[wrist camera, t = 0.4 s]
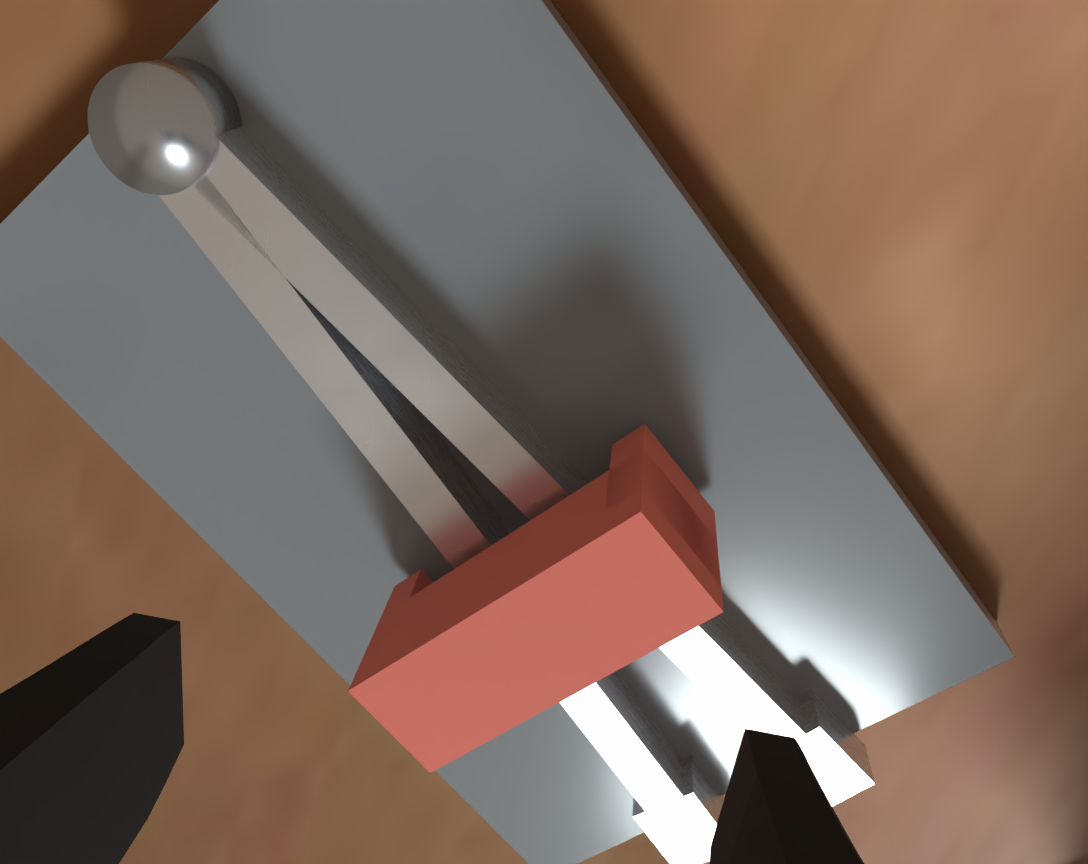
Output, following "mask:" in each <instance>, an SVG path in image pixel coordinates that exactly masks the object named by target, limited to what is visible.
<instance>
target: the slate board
mask: <svg viewBox="0 0 1088 864" xmlns="http://www.w3.org/2000/svg"><path fill="white" fill-rule="evenodd" d="M169 57H182V58H187V59H191V60H194V61H197V62H199V63H201V64H203V65H205V66H206V67H208V68H210V69H211V70H212V71H214V72H215V73H216V74H217V75H218V76H219V77H220V78H221V79H222V80H223V81H224V82H225V83H226V85H227V86H228V87H229V89H230V90H231V92H232V94H233V95H234V97H235V99H236V102H237V104H238V107H239V110H240V114H241V119H242V126H243V127H244V128H245V130H246V131H247V132H248V133H249V134H250V135H251V136H252V137H253V138H254V139H255V140H256V141H257V142H258V143H259V144H260V145H261V146H262V147H263V148H264V149H265V150H266V151H267V152H268V153H269V154H270V155H271V156H272V157H273V158H274V159H275V160H276V161H277V162H278V163H279V164H280V165H281V166H282V167H283V169H284V170H285V171H286V172H287V173H288V174H289V175H290V176H291V177H292V178H293V179H294V180H295V181H296V182H297V183H298V184H299V185H300V186H301V187H302V188H303V189H304V190H305V191H306V192H307V193H308V194H309V195H310V196H311V197H312V198H313V199H314V200H315V201H316V202H317V203H318V204H319V205H320V206H321V207H322V209H323V210H324V211H325V212H326V213H327V214H328V215H329V216H330V217H331V218H332V219H333V220H334V221H335V222H336V223H337V224H338V225H339V226H340V227H341V228H342V229H343V230H344V231H345V232H346V233H347V234H348V235H349V236H350V237H351V238H352V239H353V240H354V241H355V242H356V243H357V244H358V245H359V246H360V248H361V249H362V250H363V251H364V252H365V253H366V254H367V255H368V256H369V257H370V258H371V259H372V260H373V261H374V262H375V263H376V264H377V265H378V266H379V267H380V268H381V269H382V270H383V271H384V272H385V273H386V274H387V275H388V276H389V277H390V278H391V279H392V280H393V281H394V282H395V283H396V284H397V285H398V287H399V288H400V289H401V290H402V291H403V292H404V293H405V294H406V295H407V296H408V297H409V298H410V299H411V300H412V301H413V302H414V303H415V304H416V305H417V306H418V307H419V308H420V309H421V310H422V311H423V312H424V313H425V314H426V315H427V316H428V317H429V318H430V319H431V320H432V321H433V322H434V323H435V324H436V326H437V327H438V328H439V329H440V330H441V331H442V332H443V333H444V334H445V335H446V336H447V337H448V338H449V339H450V340H451V341H452V342H453V343H454V344H455V345H456V346H457V347H458V348H459V349H460V350H461V351H462V352H463V353H464V354H465V355H466V356H467V357H468V358H469V359H470V360H471V361H472V362H473V363H474V365H475V366H476V367H477V368H478V369H479V370H480V371H481V372H482V373H483V374H484V375H485V376H486V377H487V378H488V379H489V380H490V381H491V382H492V383H493V384H494V385H495V386H496V387H497V388H498V389H499V390H500V391H501V392H502V393H503V394H504V395H505V396H506V397H507V398H508V399H509V400H510V401H511V402H512V403H513V405H514V406H515V407H516V408H517V409H518V410H519V411H520V412H521V413H522V414H523V415H524V416H525V417H526V418H527V419H528V420H529V421H530V422H531V423H532V424H533V425H534V426H535V427H536V428H537V429H538V430H539V431H540V432H541V433H542V434H543V435H544V436H545V437H546V438H547V439H548V440H549V441H550V442H551V444H552V445H553V446H554V447H555V448H556V449H557V450H558V451H559V452H560V453H561V454H562V455H563V456H564V457H565V458H566V459H567V460H568V461H569V462H570V463H571V464H572V465H573V466H574V467H575V468H576V469H577V470H578V471H579V472H580V473H581V474H582V475H583V476H584V477H585V478H586V479H587V480H588V481H589V483H590V482H591V481H593V480H595V479H596V478H598V477H599V476H601V475H602V474H604V473H606V472H607V471H609V470H610V461H611V452H612V445H613V444H614V443H616V442H618V441H619V440H621V439H622V438H624V437H625V436H627V435H628V434H630V433H631V432H633V431H634V430H636V429H638V428H639V427H641V426H642V425H644V424H646V426H647V427H648V428H649V429H650V431H651V432H652V433H653V435H654V436H655V437H656V438H657V440H658V441H659V442H660V443H661V445H662V446H663V447H664V448H665V450H666V451H667V452H668V453H669V455H670V456H671V457H672V458H673V460H674V461H675V462H676V463H677V465H678V466H679V467H680V468H681V470H682V471H683V472H684V473H685V475H686V476H687V477H688V479H689V480H690V481H691V482H692V484H693V485H694V486H695V487H696V489H697V490H698V491H699V492H700V494H701V495H702V496H703V497H704V499H705V500H706V501H707V502H708V504H709V505H710V506H711V507H712V509H713V510H714V512H715V523H716V534H717V545H718V556H719V567H720V578H721V589H722V600H723V611H724V612H723V613H721V614H719V616H720V617H721V618H722V619H723V620H724V621H725V622H726V623H727V624H728V625H729V626H730V627H731V628H732V629H733V630H734V631H735V632H736V633H737V634H738V635H739V636H740V637H741V638H742V640H743V641H744V642H745V643H746V644H747V645H748V646H749V647H750V648H751V649H752V650H753V651H754V652H755V653H756V654H757V655H758V656H759V657H760V658H761V659H762V660H763V661H764V662H765V663H766V664H767V665H768V666H769V667H770V668H771V669H772V670H773V671H774V672H775V673H776V674H777V675H778V676H779V677H780V679H781V680H782V681H783V682H784V683H785V684H786V685H787V686H788V687H789V688H790V689H791V690H792V691H793V692H794V693H795V694H796V695H797V696H798V697H801V696H802V695H804V694H806V693H807V692H809V691H811V690H812V691H813V692H814V693H815V694H816V695H817V696H818V697H819V698H820V699H821V700H822V701H823V702H824V703H825V704H826V705H827V706H828V707H829V708H830V709H831V710H832V711H833V712H834V713H835V714H836V715H837V716H838V717H839V719H840V720H841V721H842V722H843V723H844V724H845V725H846V726H847V727H848V728H849V729H850V730H851V731H852V732H853V733H855V732H857V731H859V730H861V729H863V728H865V727H867V726H869V725H872V724H874V723H876V722H878V721H880V720H882V719H884V718H886V717H889V716H891V715H893V714H895V713H897V712H899V711H901V710H903V709H905V708H908V707H910V706H912V705H914V704H916V703H918V702H920V701H922V700H924V699H927V698H929V697H931V696H933V695H935V694H937V693H939V692H941V691H943V690H946V689H948V688H950V687H952V686H954V685H956V684H958V683H960V682H963V681H965V680H967V679H969V678H971V677H973V676H975V675H977V674H979V673H982V672H984V671H986V670H988V669H990V668H992V667H994V666H996V665H998V664H1001V663H1003V662H1005V661H1007V660H1009V659H1011V658H1013V657H1015V656H1014V654H1013V653H1012V651H1011V649H1010V647H1009V645H1008V643H1007V641H1006V639H1005V637H1004V635H1003V633H1002V631H1001V629H1000V627H999V625H998V623H997V622H996V621H995V619H994V618H993V616H992V615H991V614H990V612H989V611H988V609H987V608H986V607H985V605H984V604H983V602H982V601H981V600H980V598H979V597H978V595H977V594H976V593H975V591H974V590H973V589H972V587H971V586H970V584H969V583H968V582H967V580H966V579H965V577H964V576H963V575H962V573H961V572H960V570H959V569H958V568H957V566H956V565H955V563H954V562H953V561H952V559H951V558H950V556H949V555H948V554H947V552H946V551H945V550H944V548H943V547H942V545H941V544H940V543H939V541H938V540H937V538H936V537H935V536H934V534H933V533H932V531H931V530H930V529H929V527H928V526H927V524H926V523H925V522H924V520H923V519H922V517H921V516H920V515H919V513H918V512H917V511H916V509H915V508H914V506H913V505H912V504H911V502H910V501H909V499H908V498H907V497H906V495H905V494H904V492H903V491H902V490H901V488H900V487H899V485H898V484H897V483H896V481H895V480H894V478H893V477H892V476H891V474H890V473H889V472H888V470H887V469H886V467H885V466H884V465H883V463H882V462H881V460H880V459H879V458H878V456H877V455H876V453H875V452H874V451H873V449H872V448H871V446H870V445H869V444H868V442H867V441H866V439H865V438H864V437H863V435H862V434H861V432H860V431H859V430H858V428H857V427H856V426H855V424H854V423H853V421H852V420H851V419H850V417H849V416H848V414H847V413H846V412H845V410H844V409H843V407H842V406H841V405H840V403H839V402H838V400H837V399H836V398H835V396H834V395H833V393H832V392H831V391H830V389H829V388H828V387H827V385H826V384H825V382H824V381H823V380H822V378H821V377H820V375H819V374H818V373H817V371H816V370H815V368H814V367H813V366H812V364H811V363H810V361H809V360H808V359H807V357H806V356H805V354H804V353H803V352H802V350H801V349H800V348H799V346H798V345H797V343H796V342H795V341H794V339H793V338H792V336H791V335H790V334H789V332H788V331H787V329H786V328H785V327H784V325H783V324H782V322H781V321H780V320H779V318H778V317H777V315H776V314H775V313H774V311H773V310H772V309H771V307H770V306H769V304H768V303H767V302H766V300H765V299H764V297H763V296H762V295H761V293H760V292H759V290H758V289H757V288H756V286H755V285H754V283H753V282H752V281H751V279H750V278H749V276H748V275H747V274H746V272H745V271H744V269H743V268H742V267H741V265H740V264H739V263H738V261H737V260H736V258H735V257H734V256H733V254H732V253H731V251H730V250H729V249H728V247H727V246H726V244H725V243H724V242H723V240H722V239H721V237H720V236H719V235H718V233H717V232H716V230H715V229H714V228H713V226H712V225H711V224H710V222H709V221H708V219H707V218H706V217H705V215H704V214H703V212H702V211H701V210H700V208H699V207H698V205H697V204H696V203H695V201H694V200H693V198H692V197H691V196H690V194H689V193H688V191H687V190H686V189H685V187H684V186H683V185H682V183H681V182H680V180H679V179H678V178H677V176H676V175H675V173H674V172H673V171H672V169H671V168H670V166H669V165H668V164H667V162H666V161H665V159H664V158H663V157H662V155H661V154H660V152H659V151H658V150H657V148H656V147H655V146H654V144H653V143H652V141H651V140H650V139H649V137H648V136H647V134H646V133H645V132H644V130H643V129H642V127H641V126H640V125H639V123H638V122H637V120H636V119H635V118H634V116H633V115H632V113H631V112H630V111H629V109H628V108H627V107H626V105H625V104H624V102H623V101H622V100H621V98H620V97H619V95H618V94H617V93H616V91H615V90H614V88H613V87H612V86H611V84H610V83H609V81H608V80H607V79H606V77H605V76H604V74H603V73H602V72H601V70H600V69H599V67H598V66H597V65H596V63H595V62H594V61H593V59H592V58H591V56H590V55H589V54H588V52H587V51H586V49H585V48H584V47H583V45H582V44H581V42H580V41H579V40H578V38H577V37H576V35H575V34H574V33H573V31H572V30H571V28H570V27H569V26H568V24H567V23H566V22H565V20H564V19H563V17H562V16H561V15H560V13H559V12H558V10H557V9H556V8H555V6H554V5H553V3H552V2H551V1H550V0H219V1H218V2H217V3H216V4H215V5H214V6H213V7H212V8H211V9H210V10H209V11H208V12H207V13H206V14H205V15H204V16H203V17H202V18H201V19H200V20H199V21H198V22H197V23H196V24H195V25H194V26H193V28H192V29H191V30H190V31H189V32H188V33H187V34H186V35H185V36H184V37H183V38H182V39H181V40H180V41H179V42H178V43H177V44H176V45H175V46H174V47H173V48H172V49H171V50H170V51H169V52H168V53H167V54H166V55H165V56H164V57H163V58H169ZM0 337H1V338H2V339H3V340H4V341H5V342H6V343H7V344H8V345H9V346H10V347H11V348H12V349H13V350H14V351H15V352H16V353H17V354H18V355H19V356H20V357H21V358H22V359H23V360H24V361H25V362H26V363H27V364H28V365H29V366H30V367H31V368H32V369H33V370H34V371H35V372H36V373H37V374H38V375H39V376H40V377H41V378H42V379H43V380H44V381H45V382H46V383H47V384H48V385H49V386H50V387H51V388H52V389H53V390H54V391H55V392H56V393H57V394H58V395H59V396H60V397H61V398H62V399H63V400H64V401H65V402H66V403H67V404H68V405H69V406H70V407H71V408H72V409H73V410H74V411H75V412H76V413H77V414H78V415H79V416H80V417H81V418H82V419H83V420H84V421H85V422H86V423H87V424H88V425H89V426H90V427H91V428H92V429H93V430H94V431H95V432H96V433H97V434H98V435H99V436H100V437H101V438H102V439H103V440H104V441H105V442H106V443H107V444H108V445H109V446H110V447H111V448H112V449H113V450H114V451H115V452H116V453H117V454H118V455H119V456H120V457H121V458H122V459H123V460H124V461H125V462H126V463H127V464H128V465H129V466H130V467H131V468H132V469H133V470H134V471H135V472H136V473H137V474H138V475H139V476H141V477H142V478H143V479H144V480H145V481H146V482H147V483H148V484H149V485H150V486H151V487H152V488H153V489H154V490H155V491H156V492H157V493H158V494H159V495H160V496H161V497H162V498H163V499H164V500H165V501H166V502H167V503H168V504H169V505H170V506H171V507H172V508H173V509H174V510H175V511H176V512H177V513H178V514H179V515H180V516H181V517H182V518H183V519H184V520H185V521H186V522H187V523H188V524H189V525H190V526H191V527H192V528H193V529H194V530H195V531H196V532H197V533H198V534H199V535H200V536H201V537H202V538H203V539H204V540H205V541H206V542H207V543H208V544H209V545H210V546H211V547H212V548H213V549H214V550H215V551H216V552H217V553H218V554H219V555H220V556H221V557H222V558H223V559H224V560H225V561H226V562H227V563H228V564H229V565H230V566H231V567H232V568H233V569H234V570H235V571H236V572H237V573H238V574H239V575H240V576H241V577H242V578H243V579H244V580H245V581H246V582H247V583H248V584H249V585H250V586H251V587H252V588H253V589H254V590H255V591H256V592H257V593H258V594H259V595H260V596H261V597H262V598H263V599H264V600H265V601H266V602H267V603H268V604H269V605H270V606H271V607H272V608H273V609H274V610H275V611H276V612H277V613H278V614H279V615H280V616H281V617H282V618H283V619H284V620H285V621H286V622H287V623H288V624H289V625H290V626H291V627H292V628H293V629H294V630H295V631H296V632H297V633H298V634H299V635H300V636H301V637H302V638H303V639H304V640H305V641H306V642H307V643H308V644H309V645H310V646H311V647H312V648H313V649H314V650H315V651H316V652H317V653H318V654H319V655H320V656H321V657H322V658H323V659H324V660H325V661H326V662H327V663H328V664H329V665H330V666H331V667H332V668H333V669H334V670H335V671H336V672H337V673H338V674H339V675H340V676H341V677H342V678H343V679H344V680H345V681H346V682H347V683H348V684H349V685H351V683H352V681H353V679H354V676H355V674H356V672H357V670H358V667H359V665H360V663H361V661H362V658H363V656H364V654H365V652H366V649H367V647H368V645H369V643H370V640H371V638H372V636H373V634H374V631H375V629H376V627H377V625H378V622H379V620H380V618H381V616H382V613H383V611H384V609H385V607H386V604H387V602H388V600H389V598H390V595H391V593H392V591H393V589H394V586H396V585H397V584H399V583H400V582H402V581H404V580H405V579H407V578H408V577H410V576H411V575H413V574H414V573H416V572H417V571H419V570H420V569H421V570H422V571H423V572H424V573H425V574H426V575H427V576H428V577H429V578H430V579H431V580H432V581H433V582H435V581H437V580H438V579H440V578H441V577H443V576H444V575H446V574H448V573H449V572H451V571H452V570H454V569H453V567H452V566H451V565H450V563H449V562H448V561H447V560H446V558H445V557H444V556H443V555H442V553H441V552H440V551H439V550H438V548H437V547H436V546H435V544H434V543H433V542H432V541H431V539H430V538H429V537H428V536H427V534H426V533H425V532H424V531H423V529H422V528H421V527H420V525H419V524H418V523H417V522H416V520H415V519H414V518H413V517H412V515H411V514H410V513H409V512H408V510H407V509H406V508H405V506H404V505H403V504H402V503H401V501H400V500H399V499H398V498H397V496H396V495H395V494H394V493H393V491H392V490H391V489H390V488H389V486H388V485H387V484H386V482H385V481H384V480H383V479H382V477H381V476H380V475H379V474H378V472H377V471H376V470H375V469H374V467H373V466H372V465H371V463H370V462H369V461H368V460H367V458H366V457H365V456H364V455H363V453H362V452H361V451H360V450H359V448H358V447H357V446H356V444H355V443H354V442H353V441H352V439H351V438H350V437H349V436H348V434H347V433H346V432H345V431H344V429H343V428H342V427H341V426H340V424H339V423H338V422H337V420H336V419H335V418H334V417H333V415H332V414H331V413H330V412H329V410H328V409H327V408H326V407H325V405H324V404H323V403H322V401H321V400H320V399H319V398H318V396H317V395H316V394H315V393H314V391H313V390H312V389H311V388H310V386H309V385H308V384H307V382H306V381H305V380H304V379H303V377H302V376H301V375H300V374H299V372H298V371H297V370H296V369H295V367H294V366H293V365H292V363H291V362H290V361H289V360H288V358H287V357H286V356H285V355H284V353H283V352H282V351H281V350H280V348H279V347H278V346H277V345H276V343H275V342H274V341H273V339H272V338H271V337H270V336H269V334H268V333H267V332H266V331H265V329H264V328H263V327H262V326H261V324H260V323H259V322H258V320H257V319H256V318H255V317H254V315H253V314H252V313H251V312H250V310H249V309H248V308H247V307H246V305H245V304H244V303H243V301H242V300H241V299H240V298H239V296H238V295H237V294H236V293H235V291H234V290H233V289H232V288H231V286H230V285H229V284H228V283H227V281H226V280H225V279H224V277H223V276H222V275H221V274H220V272H219V271H218V270H217V269H216V267H215V266H214V265H213V264H212V262H211V261H210V260H209V258H208V257H207V256H206V255H205V253H204V252H203V251H202V250H201V248H200V247H199V246H198V245H197V243H196V242H195V241H194V239H193V238H192V237H191V236H190V234H189V233H188V232H187V231H186V229H185V228H184V227H183V226H182V224H181V223H180V222H179V220H178V219H177V218H176V217H175V215H174V214H173V213H172V212H171V210H170V209H169V208H168V207H167V205H166V204H165V203H164V202H163V200H162V199H161V198H160V196H159V195H151V194H147V193H143V192H140V191H137V190H135V189H133V188H131V187H129V186H128V185H126V184H124V183H123V182H121V181H120V180H119V179H118V178H116V177H115V176H114V175H113V174H112V173H111V172H110V171H109V170H108V168H107V167H106V166H105V165H104V164H103V162H102V161H101V159H100V157H99V156H98V154H97V152H96V150H95V148H94V146H93V143H92V141H91V137H90V133H89V134H88V135H87V136H86V137H85V138H84V139H83V140H82V141H81V142H80V143H79V144H78V145H77V146H76V147H75V148H74V149H73V150H72V151H71V152H70V153H69V154H68V155H67V156H66V157H65V158H64V159H63V160H62V161H61V162H60V163H59V164H58V165H57V166H56V167H55V169H54V170H53V171H52V172H51V173H50V174H49V175H48V176H47V177H46V178H45V179H44V180H43V181H42V182H41V183H40V184H39V185H38V186H37V187H36V188H35V189H34V190H33V191H32V192H31V193H30V194H29V195H28V196H27V197H26V198H25V199H24V200H23V201H22V202H21V203H20V204H19V205H18V206H17V207H16V208H15V209H14V210H13V211H12V212H11V213H10V214H9V216H8V217H7V218H6V219H5V220H4V221H3V222H2V223H1V224H0ZM424 417H425V416H424ZM425 418H426V417H425ZM426 419H427V418H426ZM427 421H428V422H429V423H430V424H431V426H432V427H433V428H434V430H435V431H436V432H437V434H438V435H439V436H440V438H441V439H442V440H443V442H444V443H445V444H446V446H447V447H448V448H449V450H450V451H451V452H452V454H453V455H454V456H455V458H456V459H457V460H458V462H459V463H460V464H461V466H462V467H463V468H464V470H465V471H466V472H467V473H468V475H469V476H470V477H471V479H472V480H473V481H474V483H475V484H476V485H477V487H478V488H479V489H480V491H481V492H482V493H483V495H484V496H485V497H486V499H487V500H488V501H489V503H490V504H491V505H492V507H493V508H494V509H495V511H496V512H497V513H498V515H499V516H500V517H501V519H502V520H503V521H504V523H505V524H506V525H507V526H508V528H509V529H510V530H511V532H513V531H515V530H516V529H518V528H519V527H521V526H523V525H524V524H526V523H527V522H529V521H530V520H529V519H528V518H527V517H526V516H525V515H524V514H523V513H522V512H521V511H520V510H519V509H518V508H517V507H516V506H515V505H514V504H513V503H512V502H511V501H510V500H509V499H508V498H507V497H506V496H505V495H504V494H503V493H502V492H501V491H500V490H499V489H498V488H497V487H496V486H495V485H494V484H493V483H492V482H491V481H490V480H489V479H488V478H487V477H486V476H485V475H484V474H483V473H482V472H481V471H480V470H479V469H478V468H477V467H476V466H475V465H474V464H473V463H472V462H471V461H470V460H469V459H468V458H467V457H466V456H465V455H464V454H463V453H462V452H461V451H460V450H459V449H458V448H457V447H456V446H455V445H454V444H453V443H452V442H451V441H450V440H449V439H448V438H447V437H446V436H445V435H443V434H442V433H441V432H440V431H439V430H438V429H437V428H436V427H435V426H434V425H433V424H432V423H431V422H430V421H429V420H428V419H427ZM617 672H618V674H619V675H620V676H621V677H622V679H623V680H624V681H625V683H626V684H627V685H628V687H629V688H630V689H631V691H632V692H633V693H634V695H635V696H636V697H637V699H638V700H639V701H640V703H641V704H642V705H643V707H644V708H645V709H646V711H647V712H648V713H649V715H650V716H651V717H652V719H653V720H654V721H655V723H656V724H657V725H658V726H659V728H660V729H661V730H662V732H663V733H664V734H665V736H666V737H667V738H668V740H669V741H670V742H671V744H672V745H673V746H674V748H675V749H676V750H677V752H678V753H679V754H680V756H681V757H682V758H685V757H687V756H690V755H692V756H693V757H694V758H695V760H696V761H697V762H698V764H699V765H700V766H701V768H702V769H703V770H704V772H705V773H706V774H707V776H708V777H709V778H710V780H711V781H712V782H713V784H714V785H715V786H716V788H717V789H718V790H719V792H720V793H721V794H722V795H724V794H726V791H727V788H728V785H729V781H730V778H731V774H732V771H733V768H734V764H735V761H736V758H737V754H738V751H739V747H740V744H741V741H742V737H743V734H744V732H743V731H742V730H741V729H740V728H739V727H738V726H737V725H736V724H735V723H734V722H733V721H732V720H731V719H730V718H729V717H728V716H727V715H726V714H725V713H724V712H723V711H722V710H721V709H720V708H719V707H718V706H717V705H716V704H715V703H714V702H713V701H712V700H711V699H710V698H709V697H708V696H707V695H706V694H705V693H704V692H703V691H702V690H701V689H700V688H699V687H698V686H697V685H696V684H695V683H694V682H693V681H692V680H691V679H690V678H689V677H688V676H687V675H686V674H685V673H684V672H683V671H682V670H681V669H680V668H679V667H678V666H677V665H676V664H675V663H674V662H673V661H672V660H671V659H670V658H669V657H668V656H667V655H666V654H665V653H664V652H663V651H662V650H661V649H660V648H657V649H655V650H654V651H652V652H650V653H648V654H646V655H645V656H643V657H641V658H639V659H637V660H635V661H634V662H632V663H630V664H628V665H626V666H624V667H623V668H621V669H619V670H617ZM435 771H436V772H437V773H438V774H439V775H440V776H441V777H442V778H443V779H444V780H445V781H446V782H447V783H448V784H449V785H450V786H451V787H452V788H453V789H454V790H455V791H456V792H457V793H458V794H459V795H460V796H461V797H462V798H463V799H464V800H465V801H467V802H468V803H469V804H470V805H471V806H472V807H473V808H474V809H475V810H476V811H477V812H478V813H479V814H480V815H481V816H482V817H483V818H484V819H485V820H486V821H487V822H488V823H489V824H490V825H491V826H492V827H493V828H494V829H495V830H496V831H497V832H498V833H499V834H500V835H501V836H502V837H503V838H504V839H505V840H506V841H507V842H508V843H509V844H510V845H511V846H512V847H513V848H514V849H515V850H516V851H517V852H518V853H519V854H520V855H521V856H522V857H523V858H524V859H525V860H526V861H527V862H528V863H529V864H578V863H580V862H582V861H584V860H586V859H588V858H590V857H592V856H595V855H597V854H599V853H601V852H603V851H605V850H607V849H609V848H611V847H614V846H616V845H618V844H620V843H622V842H624V841H626V840H628V839H631V838H633V837H635V836H637V835H639V834H641V833H643V832H644V831H643V829H642V828H641V827H640V826H639V824H638V823H637V822H636V821H635V819H634V818H633V795H632V794H631V793H630V791H629V790H628V789H627V787H626V786H625V785H624V784H623V782H622V781H621V780H620V779H619V777H618V776H617V775H616V774H615V772H614V771H613V770H612V768H611V767H610V766H609V765H608V763H607V762H606V761H605V760H604V758H603V757H602V756H601V755H600V753H599V752H598V751H597V749H596V748H595V747H594V746H593V744H592V743H591V742H590V741H589V739H588V738H587V737H586V736H585V734H584V733H583V732H582V730H581V729H580V728H579V727H578V725H577V724H576V723H575V722H574V720H573V719H572V718H571V717H570V715H569V714H568V713H567V712H566V710H565V709H564V708H563V706H562V705H561V704H560V703H557V704H555V705H553V706H552V707H550V708H548V709H546V710H544V711H543V712H541V713H539V714H537V715H535V716H533V717H532V718H530V719H528V720H526V721H524V722H523V723H521V724H519V725H517V726H515V727H513V728H512V729H510V730H508V731H506V732H504V733H503V734H501V735H499V736H497V737H495V738H493V739H492V740H490V741H488V742H486V743H484V744H482V745H481V746H479V747H477V748H475V749H473V750H472V751H470V752H468V753H466V754H464V755H462V756H461V757H459V758H457V759H455V760H453V761H452V762H450V763H448V764H446V765H444V766H442V767H441V768H439V769H437V770H435Z"/></svg>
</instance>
